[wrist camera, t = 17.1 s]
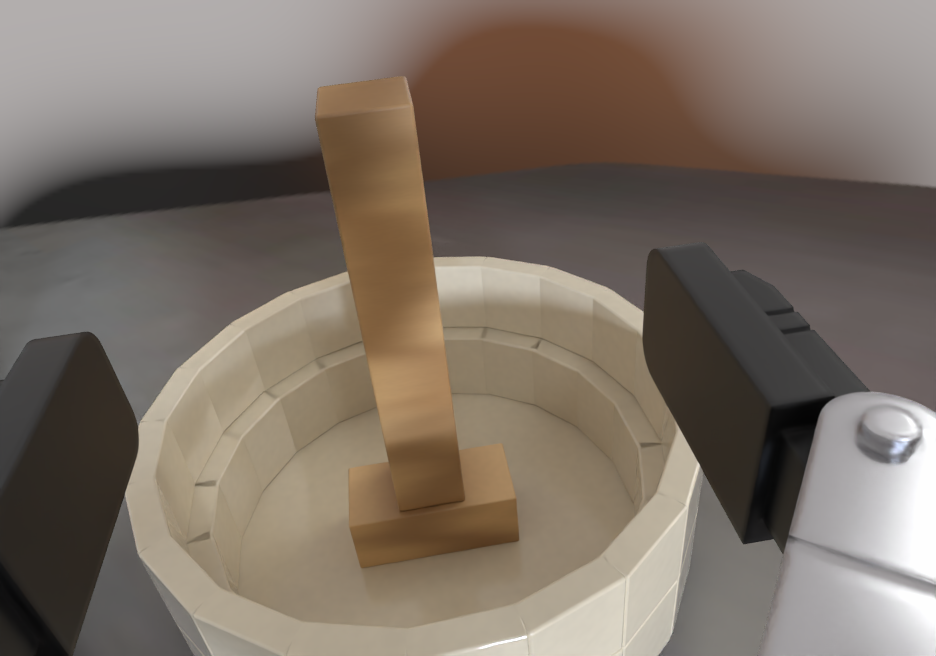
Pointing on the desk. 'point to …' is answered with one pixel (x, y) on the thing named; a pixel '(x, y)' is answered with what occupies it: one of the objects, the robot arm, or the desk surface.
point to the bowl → (361, 443)
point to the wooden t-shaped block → (403, 341)
